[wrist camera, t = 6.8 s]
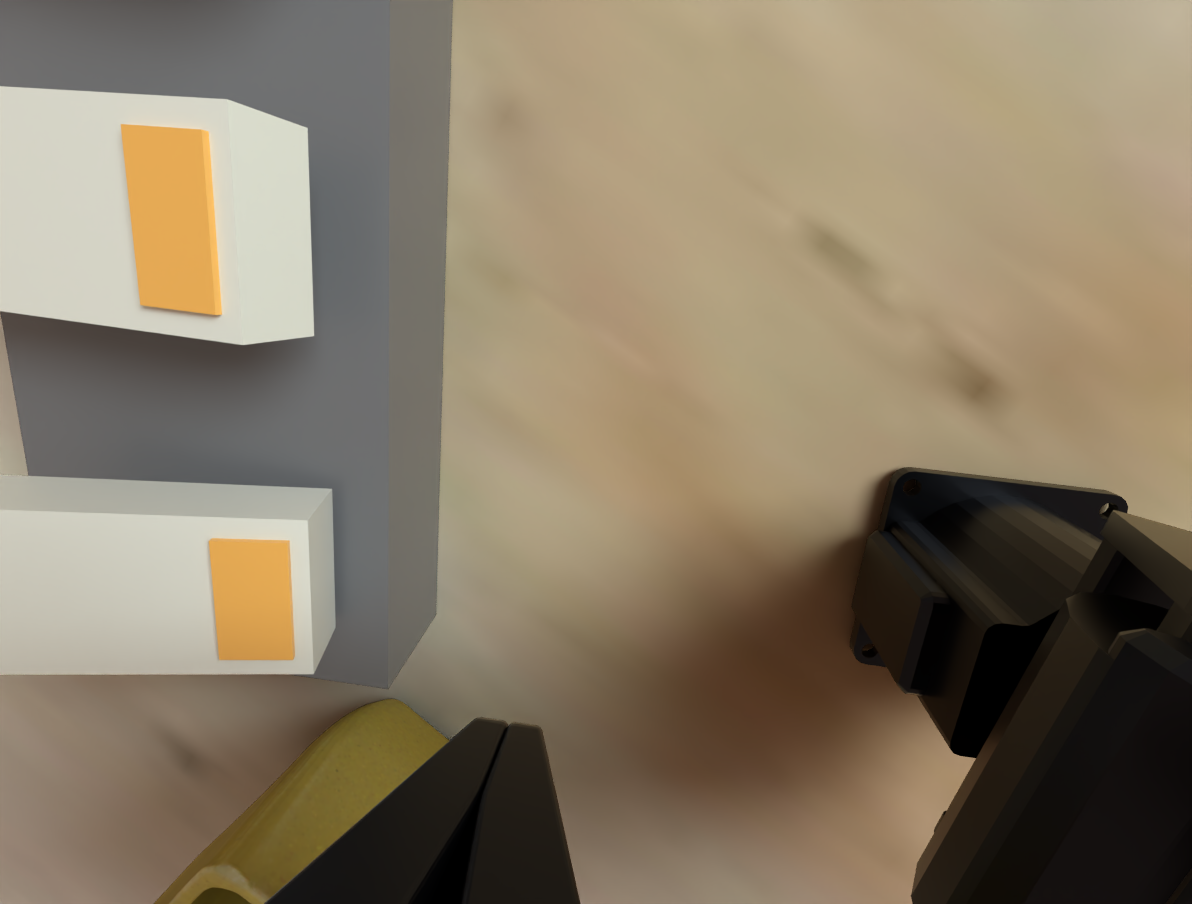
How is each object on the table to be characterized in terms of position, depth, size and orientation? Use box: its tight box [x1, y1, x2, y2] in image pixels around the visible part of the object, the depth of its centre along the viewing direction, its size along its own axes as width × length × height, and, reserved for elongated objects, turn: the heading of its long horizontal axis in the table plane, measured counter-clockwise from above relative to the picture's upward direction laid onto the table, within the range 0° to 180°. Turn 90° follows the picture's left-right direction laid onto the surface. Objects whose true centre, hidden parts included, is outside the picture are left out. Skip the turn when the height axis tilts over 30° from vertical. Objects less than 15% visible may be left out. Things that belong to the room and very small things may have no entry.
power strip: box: [0, 0, 453, 689], centre depth 16 cm, size 10×30×4 cm, turn 174°
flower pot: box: [154, 699, 449, 904], centre depth 19 cm, size 9×9×9 cm
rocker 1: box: [0, 86, 314, 345], centre depth 12 cm, size 8×4×2 cm, turn 84°
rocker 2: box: [0, 475, 336, 675], centre depth 15 cm, size 8×4×2 cm, turn 85°
